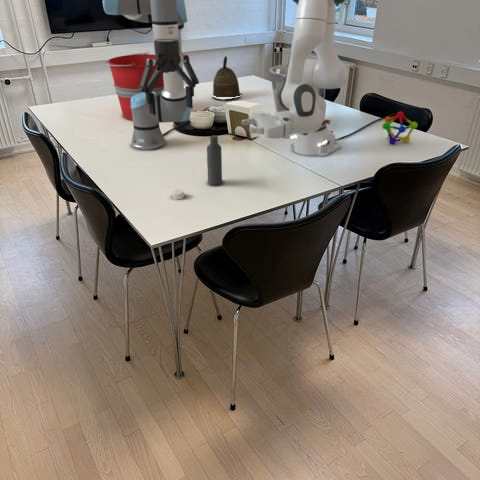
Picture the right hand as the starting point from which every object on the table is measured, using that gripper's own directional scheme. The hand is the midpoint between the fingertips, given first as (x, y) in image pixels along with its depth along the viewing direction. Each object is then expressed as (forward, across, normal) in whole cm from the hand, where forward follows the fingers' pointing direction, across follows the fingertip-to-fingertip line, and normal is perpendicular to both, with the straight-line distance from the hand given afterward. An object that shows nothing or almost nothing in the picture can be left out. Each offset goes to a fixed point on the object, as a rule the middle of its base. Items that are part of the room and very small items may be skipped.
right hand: (246, 126), depth 163 cm
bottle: (+12, 0, +21) cm, 25 cm away
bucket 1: (+29, -100, +21) cm, 106 cm away
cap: (+28, +8, +20) cm, 35 cm away
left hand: (+28, +8, -10) cm, 31 cm away
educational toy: (-81, -21, +21) cm, 87 cm away
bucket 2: (-46, -59, +21) cm, 78 cm away
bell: (-25, -124, +21) cm, 129 cm away
